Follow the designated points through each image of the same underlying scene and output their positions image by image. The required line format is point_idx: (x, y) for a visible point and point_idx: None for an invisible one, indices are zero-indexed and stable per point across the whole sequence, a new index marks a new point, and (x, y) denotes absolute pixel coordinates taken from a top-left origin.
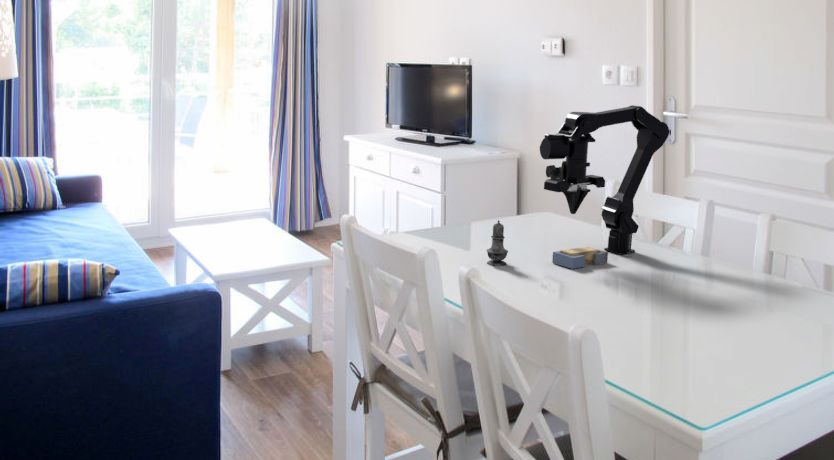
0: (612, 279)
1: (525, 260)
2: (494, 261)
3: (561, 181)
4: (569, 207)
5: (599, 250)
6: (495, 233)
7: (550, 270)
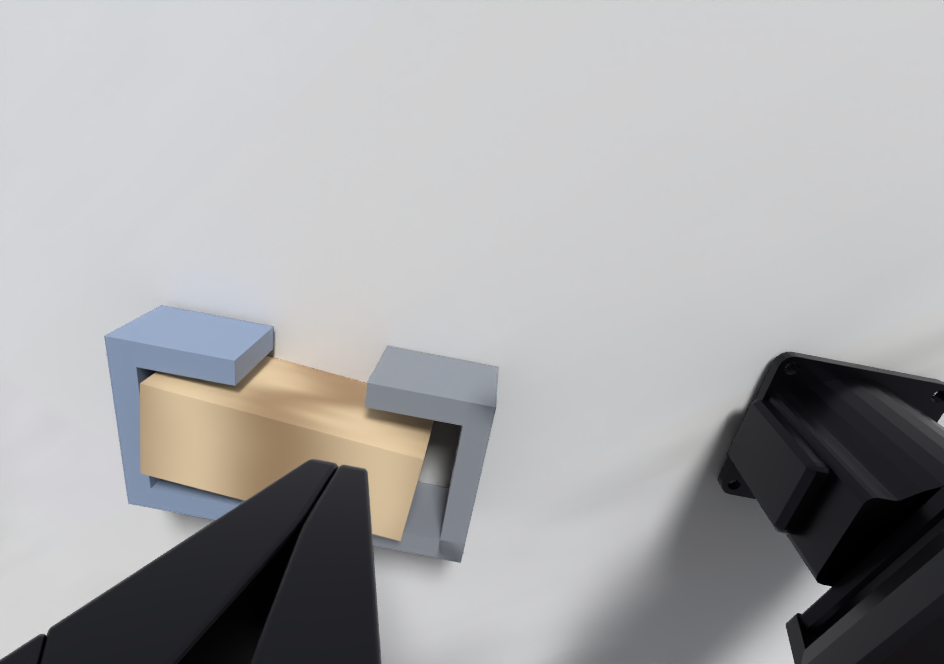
0: None
1: (37, 115)
2: None
3: None
4: (208, 539)
5: (459, 511)
6: None
7: (51, 383)
